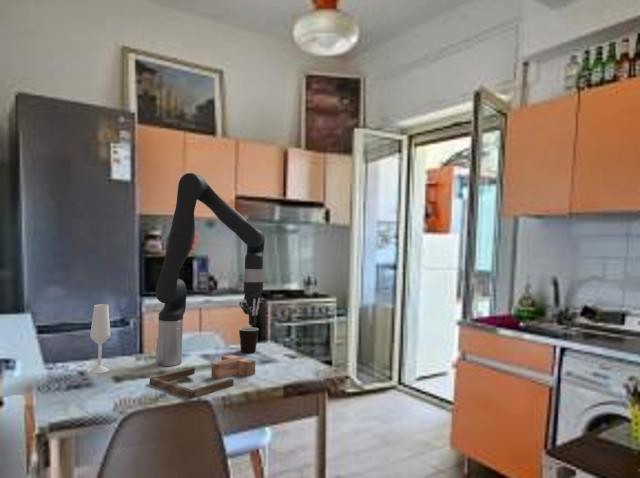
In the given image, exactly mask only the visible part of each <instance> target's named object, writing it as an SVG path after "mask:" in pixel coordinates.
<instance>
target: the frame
mask: <svg viewBox="0 0 640 478" xmlns="http://www.w3.org/2000/svg"><path fill="white" fill-rule="evenodd" d="M195 371H196V369H195V367H189V368H185V369H181V370H176V371H173V372H172V371H171V372H168V373H164V374H160V375H156V376H151V377H149V385H152V386H154V387H157V388H161V389H163V390H166V391H169V392H171V393H174V394H177V395H180V396H183V397H186V398H189V399H195V398H198V397H202V396H203V395H204V396H205V395H207V394H210V393H213V392H217V391H220V390H223V389H227V388H230V387H233V386H234V379H233V378H229V379H224V380H222V381H218V382H215V383H212V384H208V385H205V386H201V387H197V388H195V389H194V388H193V389H191V388H187V387H184V386H182V385H180V384H176V383H173V382H170V381H172V380H176V379H180V378H183V377H188V376H191V375H194V374H195Z"/></svg>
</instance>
